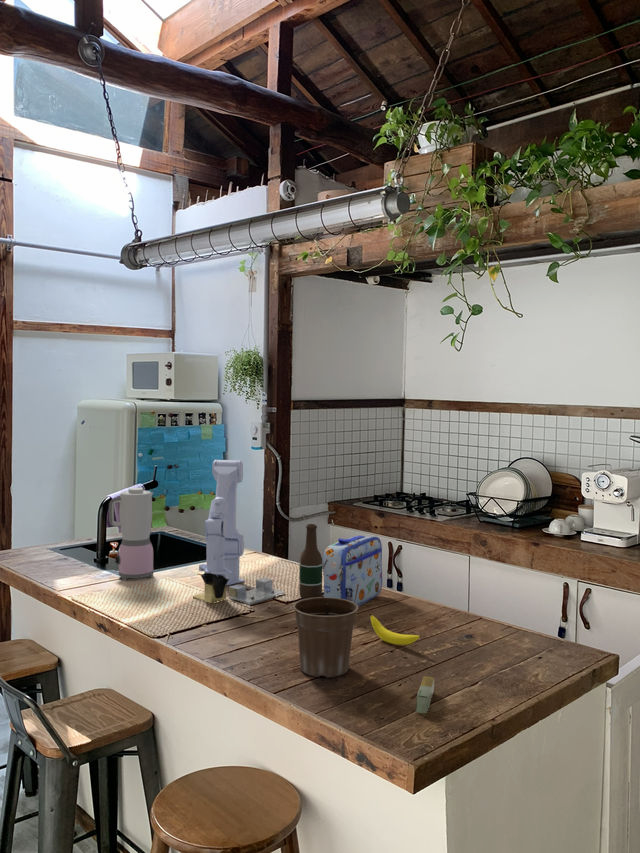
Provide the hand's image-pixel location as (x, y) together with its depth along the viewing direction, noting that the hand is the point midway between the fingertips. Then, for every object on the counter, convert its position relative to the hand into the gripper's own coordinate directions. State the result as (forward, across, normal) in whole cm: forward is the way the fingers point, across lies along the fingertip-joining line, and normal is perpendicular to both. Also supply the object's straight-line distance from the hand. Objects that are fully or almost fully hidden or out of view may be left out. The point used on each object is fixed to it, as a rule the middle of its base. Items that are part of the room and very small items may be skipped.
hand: (215, 596), depth 242 cm
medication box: (+2, +92, -16) cm, 93 cm away
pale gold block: (+1, -3, 0) cm, 3 cm away
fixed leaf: (+1, +6, +13) cm, 14 cm away
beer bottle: (+2, +18, +26) cm, 32 cm away
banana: (+2, +65, +9) cm, 66 cm away
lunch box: (+2, +33, +30) cm, 45 cm away
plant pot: (+2, +63, -17) cm, 65 cm away
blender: (+2, -43, -3) cm, 43 cm away
